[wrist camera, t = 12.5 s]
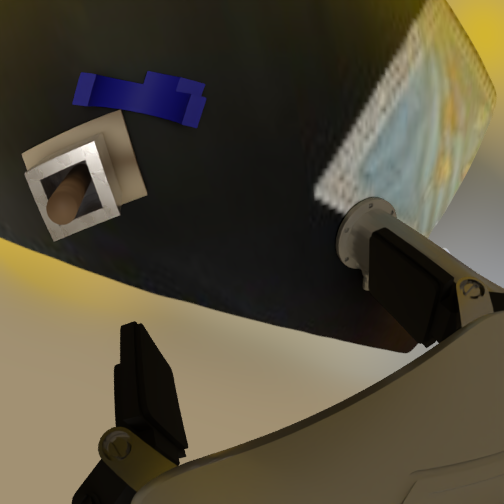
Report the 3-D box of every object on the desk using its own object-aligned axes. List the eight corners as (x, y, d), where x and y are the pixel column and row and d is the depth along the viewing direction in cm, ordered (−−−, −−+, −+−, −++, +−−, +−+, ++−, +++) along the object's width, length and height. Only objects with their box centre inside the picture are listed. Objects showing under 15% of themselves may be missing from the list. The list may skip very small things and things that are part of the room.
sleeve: (122, 193, 30) (120, 215, 25) (65, 216, 29) (54, 241, 24) (102, 132, 26) (94, 141, 21) (42, 158, 25) (24, 173, 20)
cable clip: (199, 84, 30) (211, 83, 25) (187, 122, 31) (196, 128, 26) (95, 62, 24) (86, 56, 19) (83, 102, 26) (72, 104, 21)
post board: (146, 190, 33) (152, 237, 24) (57, 227, 31) (32, 285, 21) (121, 108, 28) (111, 116, 18) (25, 151, 25) (-20, 182, 16)
